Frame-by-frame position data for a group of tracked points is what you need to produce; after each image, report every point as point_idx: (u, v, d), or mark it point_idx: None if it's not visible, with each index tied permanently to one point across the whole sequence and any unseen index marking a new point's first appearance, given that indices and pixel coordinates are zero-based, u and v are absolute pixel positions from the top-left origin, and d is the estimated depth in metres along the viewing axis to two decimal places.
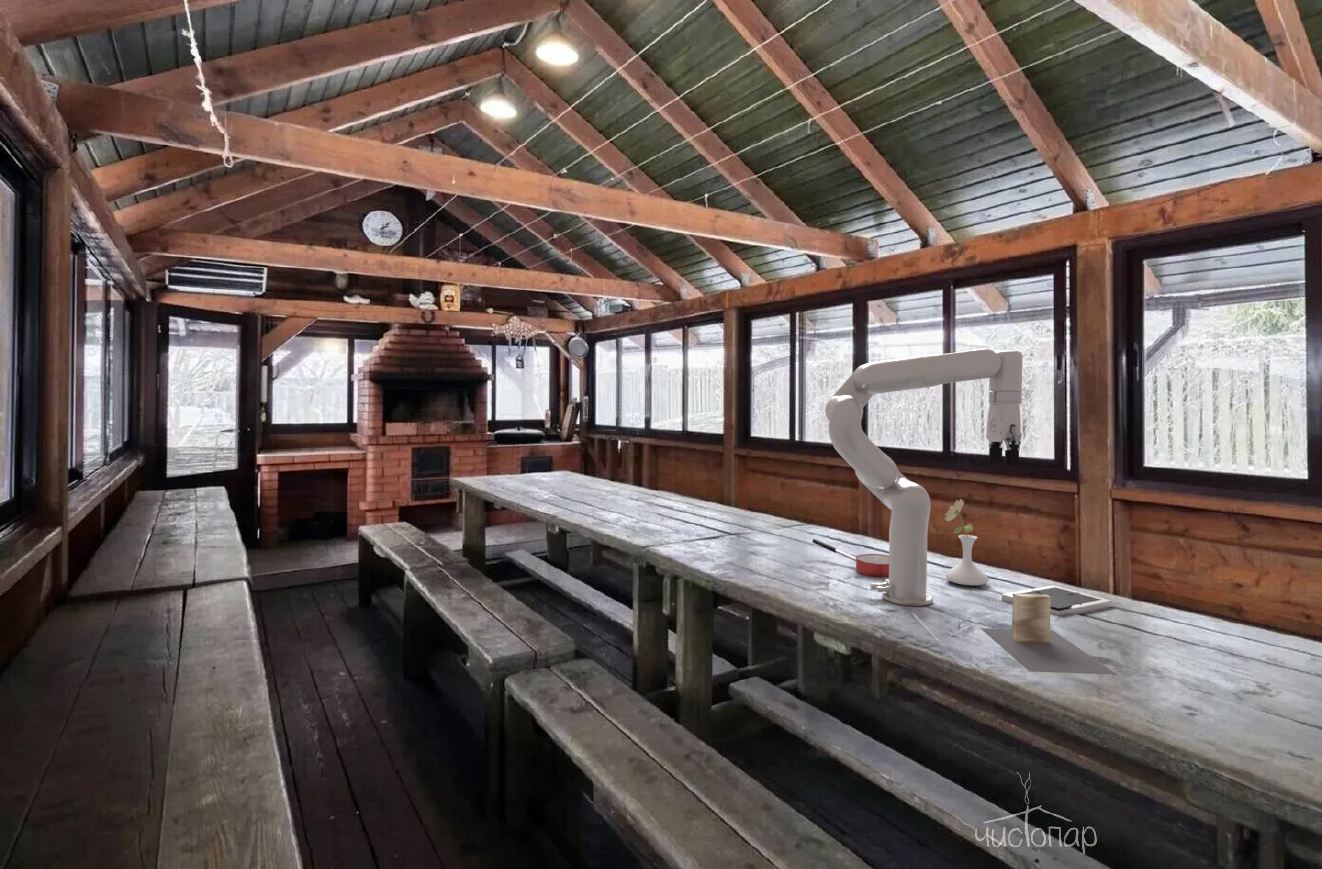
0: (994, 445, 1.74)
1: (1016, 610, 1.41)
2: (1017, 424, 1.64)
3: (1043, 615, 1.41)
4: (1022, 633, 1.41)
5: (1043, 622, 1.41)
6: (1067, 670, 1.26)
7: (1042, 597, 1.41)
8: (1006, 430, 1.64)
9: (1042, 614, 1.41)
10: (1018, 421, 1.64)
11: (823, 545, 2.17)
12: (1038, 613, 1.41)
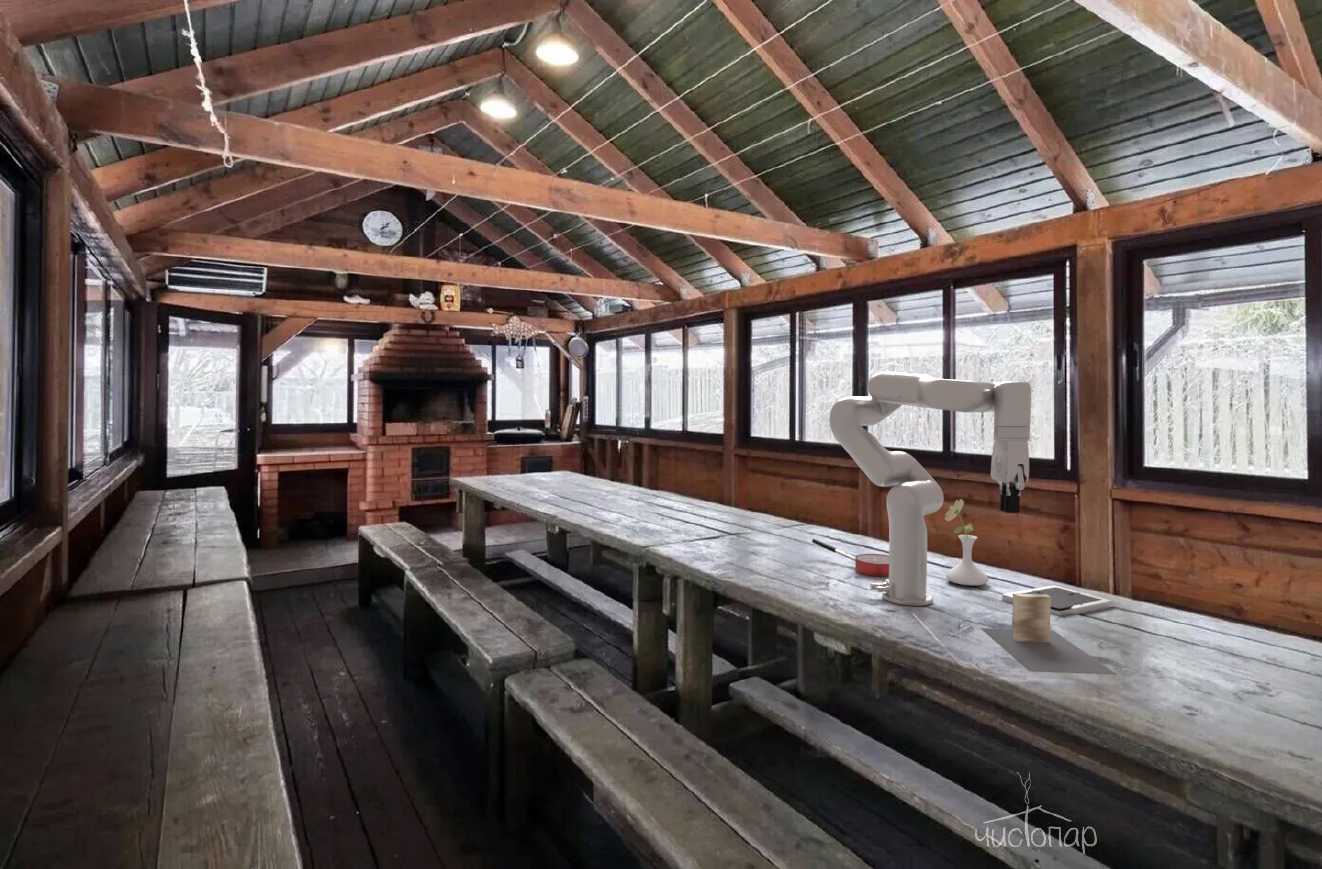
0: (1006, 489, 1.53)
1: (1016, 610, 1.41)
2: (1026, 463, 1.47)
3: (1043, 615, 1.41)
4: (1022, 633, 1.41)
5: (1043, 622, 1.41)
6: (1067, 670, 1.26)
7: (1042, 597, 1.41)
8: (1013, 470, 1.47)
9: (1042, 614, 1.41)
10: (1026, 460, 1.47)
11: (823, 545, 2.17)
12: (1038, 613, 1.41)
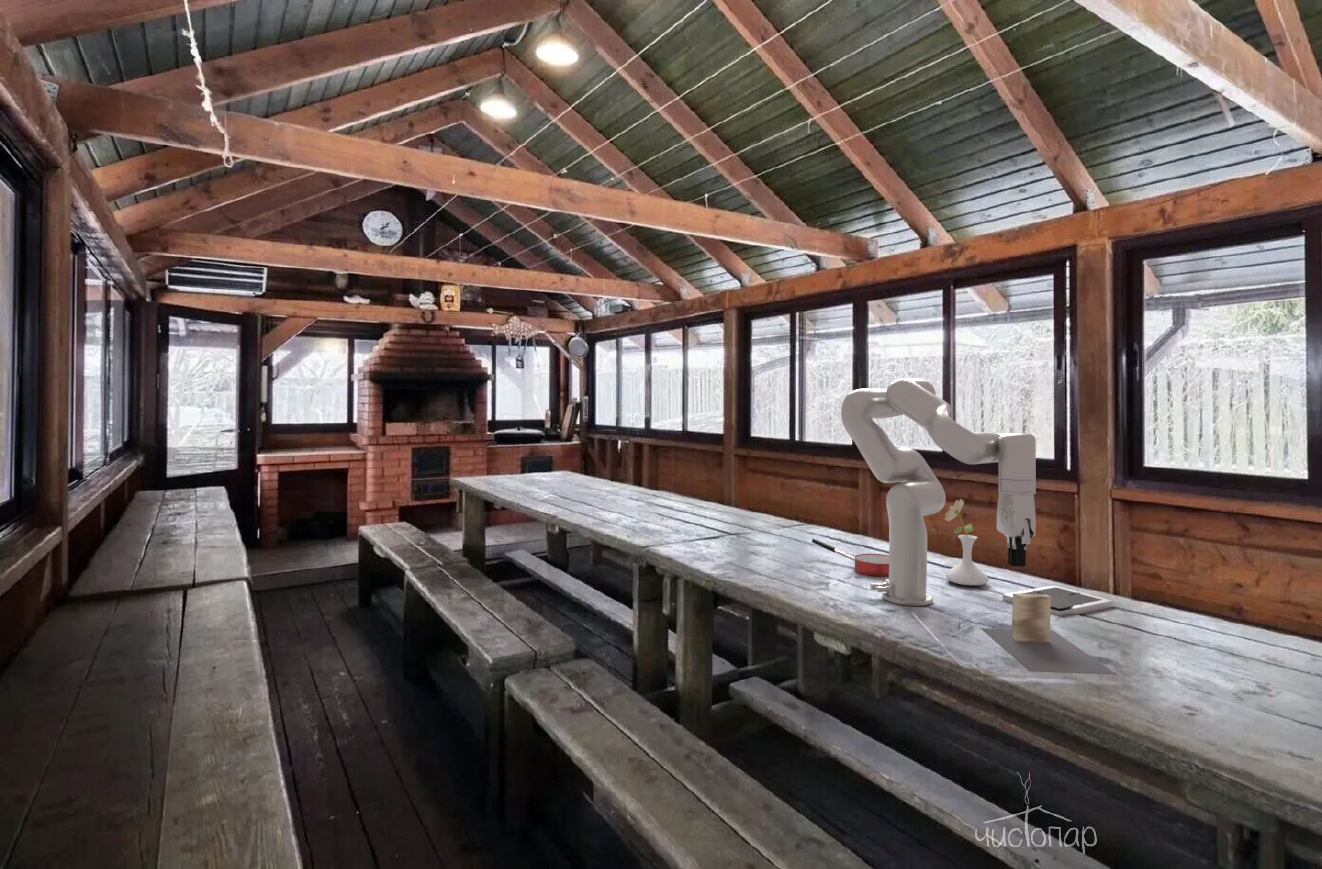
0: None
1: (1016, 610, 1.41)
2: (1032, 518, 1.44)
3: (1043, 615, 1.41)
4: (1022, 633, 1.41)
5: (1043, 622, 1.41)
6: (1067, 670, 1.26)
7: (1042, 597, 1.41)
8: (1019, 525, 1.45)
9: (1042, 614, 1.41)
10: (1033, 515, 1.44)
11: (822, 545, 2.18)
12: (1038, 613, 1.41)
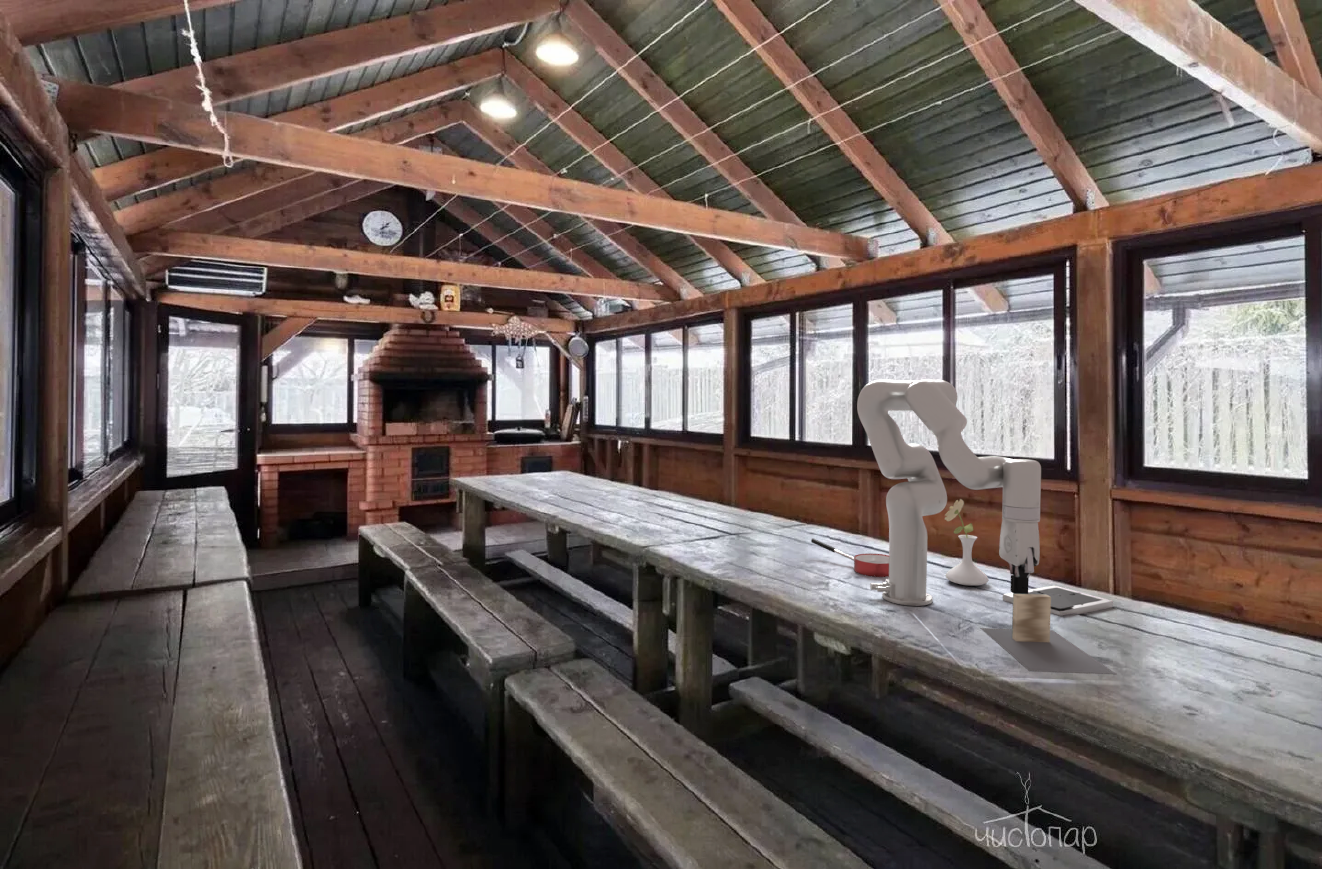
0: None
1: (1016, 610, 1.41)
2: (1036, 546, 1.42)
3: (1043, 615, 1.41)
4: (1022, 633, 1.41)
5: (1043, 622, 1.41)
6: (1067, 670, 1.26)
7: (1042, 597, 1.41)
8: (1023, 554, 1.42)
9: (1042, 614, 1.41)
10: (1037, 543, 1.42)
11: (821, 545, 2.18)
12: (1038, 613, 1.41)
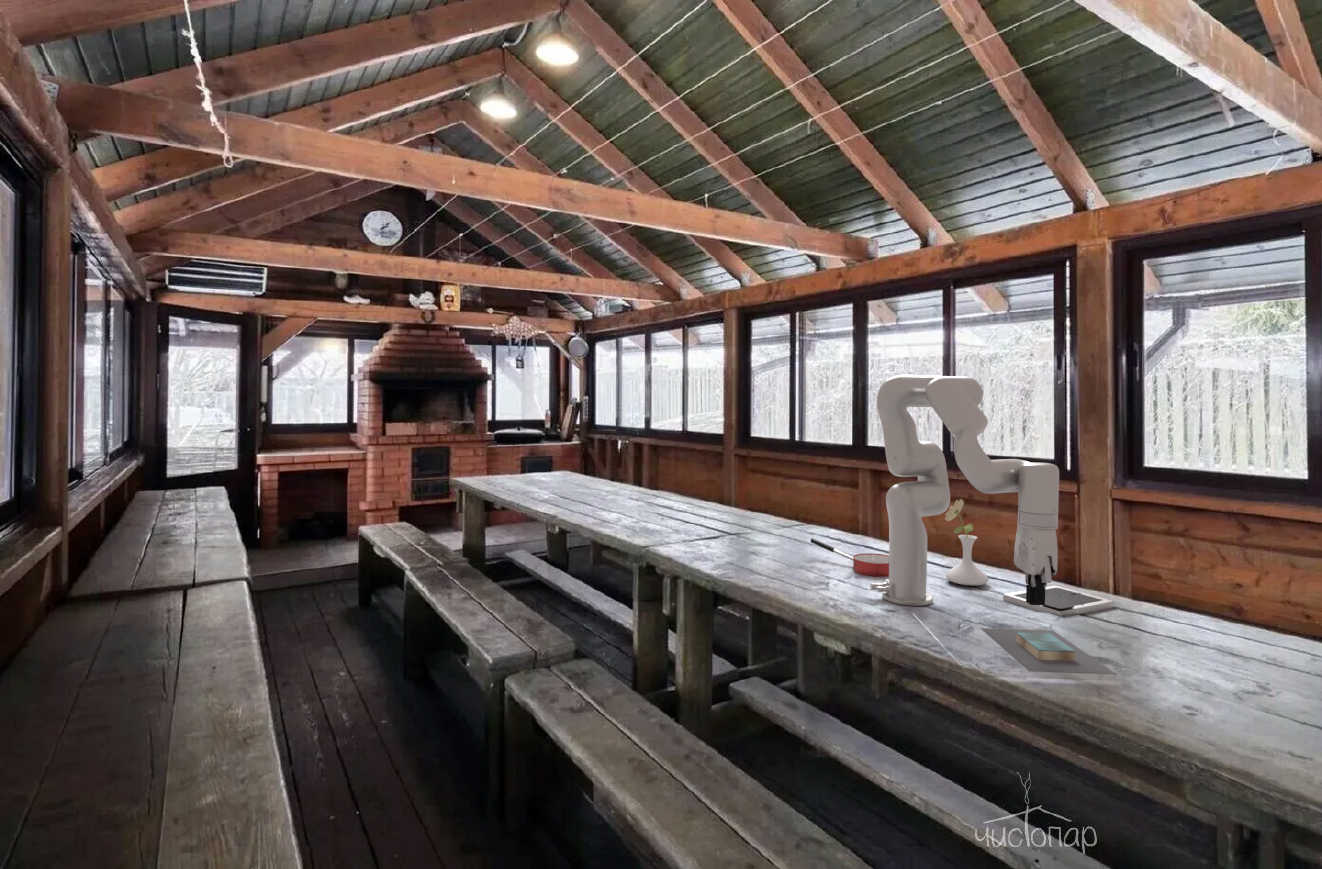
0: None
1: (1031, 652, 1.34)
2: (1054, 555, 1.35)
3: None
4: None
5: None
6: (1067, 670, 1.26)
7: (1065, 659, 1.31)
8: (1040, 562, 1.35)
9: None
10: (1055, 552, 1.35)
11: (821, 544, 2.18)
12: None
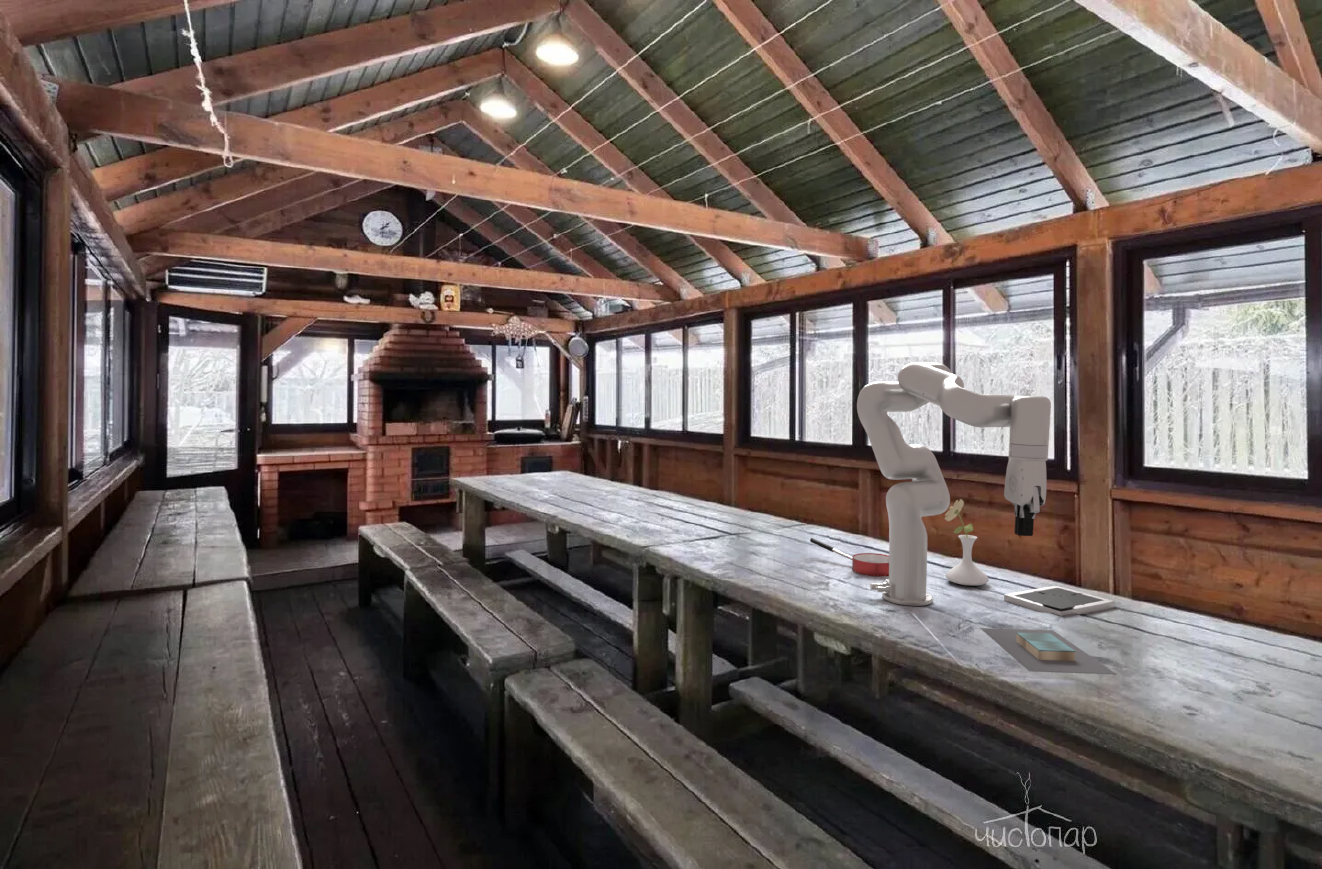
0: None
1: (1031, 652, 1.34)
2: (1043, 485, 1.37)
3: None
4: None
5: None
6: (1067, 670, 1.26)
7: (1065, 659, 1.31)
8: (1029, 492, 1.37)
9: None
10: (1044, 482, 1.37)
11: (820, 544, 2.19)
12: None
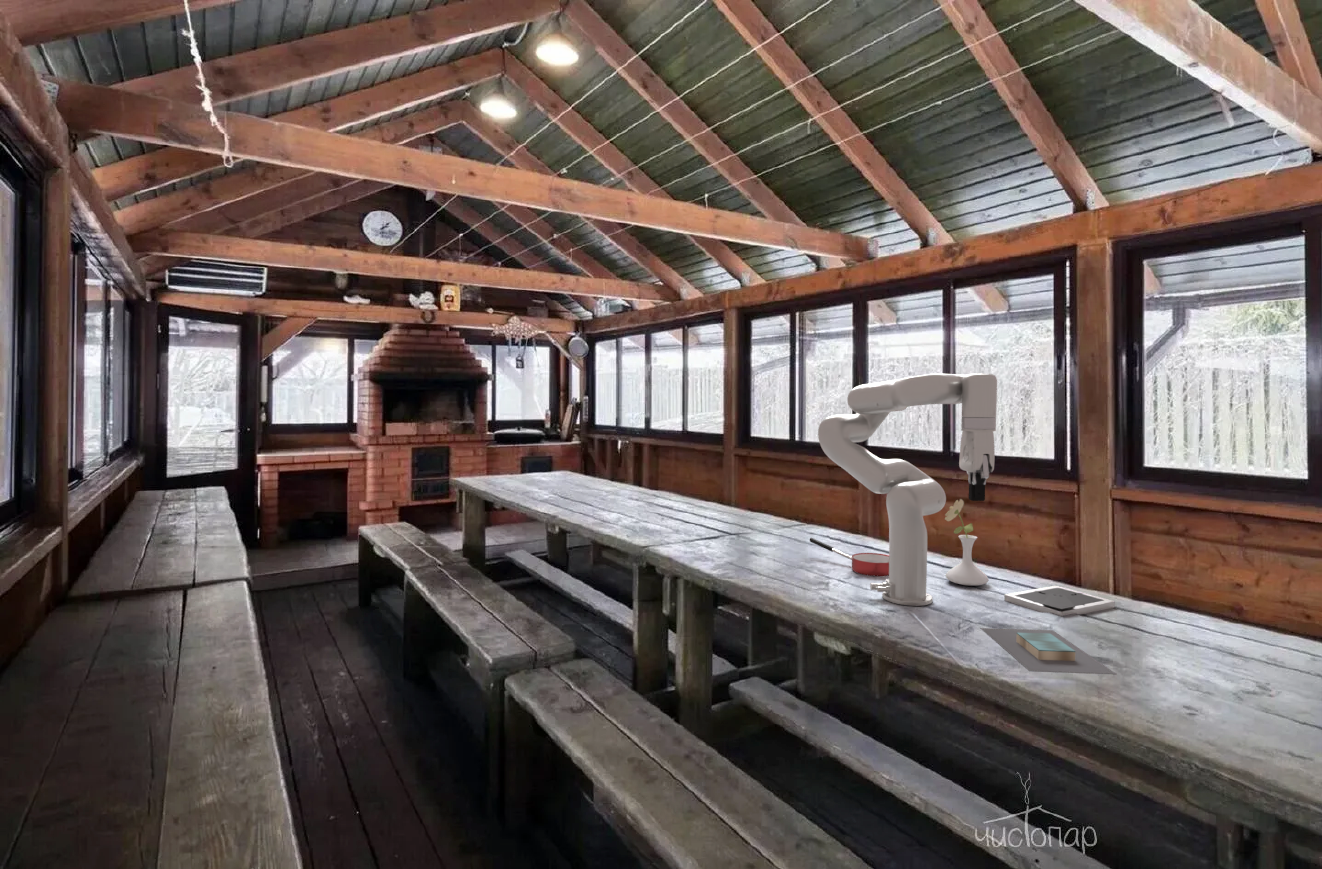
0: None
1: (1031, 652, 1.34)
2: (991, 453, 1.51)
3: None
4: None
5: None
6: (1067, 670, 1.26)
7: (1065, 659, 1.31)
8: (979, 460, 1.52)
9: None
10: (992, 450, 1.51)
11: (820, 544, 2.19)
12: None
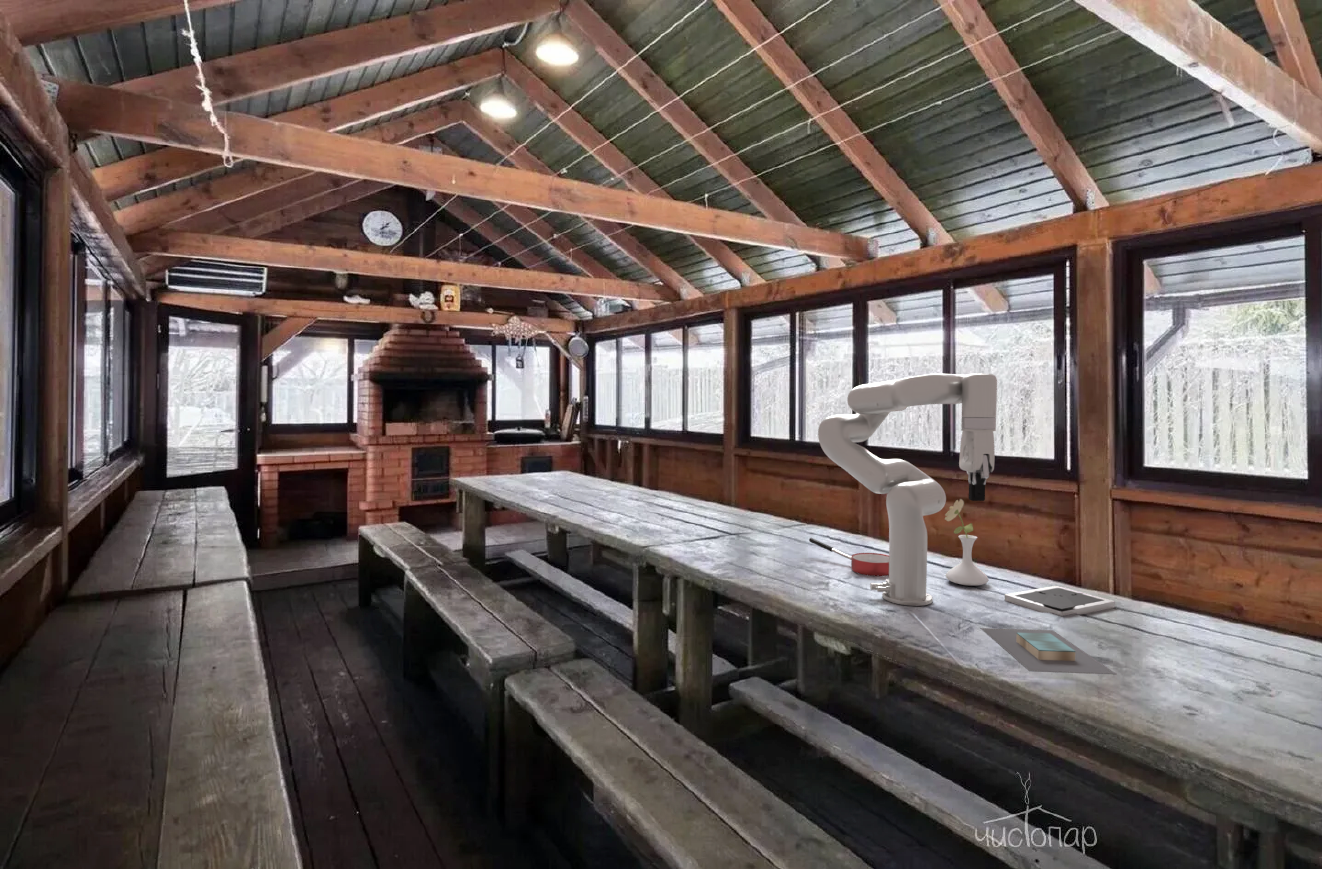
0: None
1: (1031, 652, 1.34)
2: (991, 453, 1.51)
3: None
4: None
5: None
6: (1067, 670, 1.26)
7: (1065, 659, 1.31)
8: (979, 460, 1.52)
9: None
10: (992, 450, 1.51)
11: (819, 544, 2.19)
12: None
